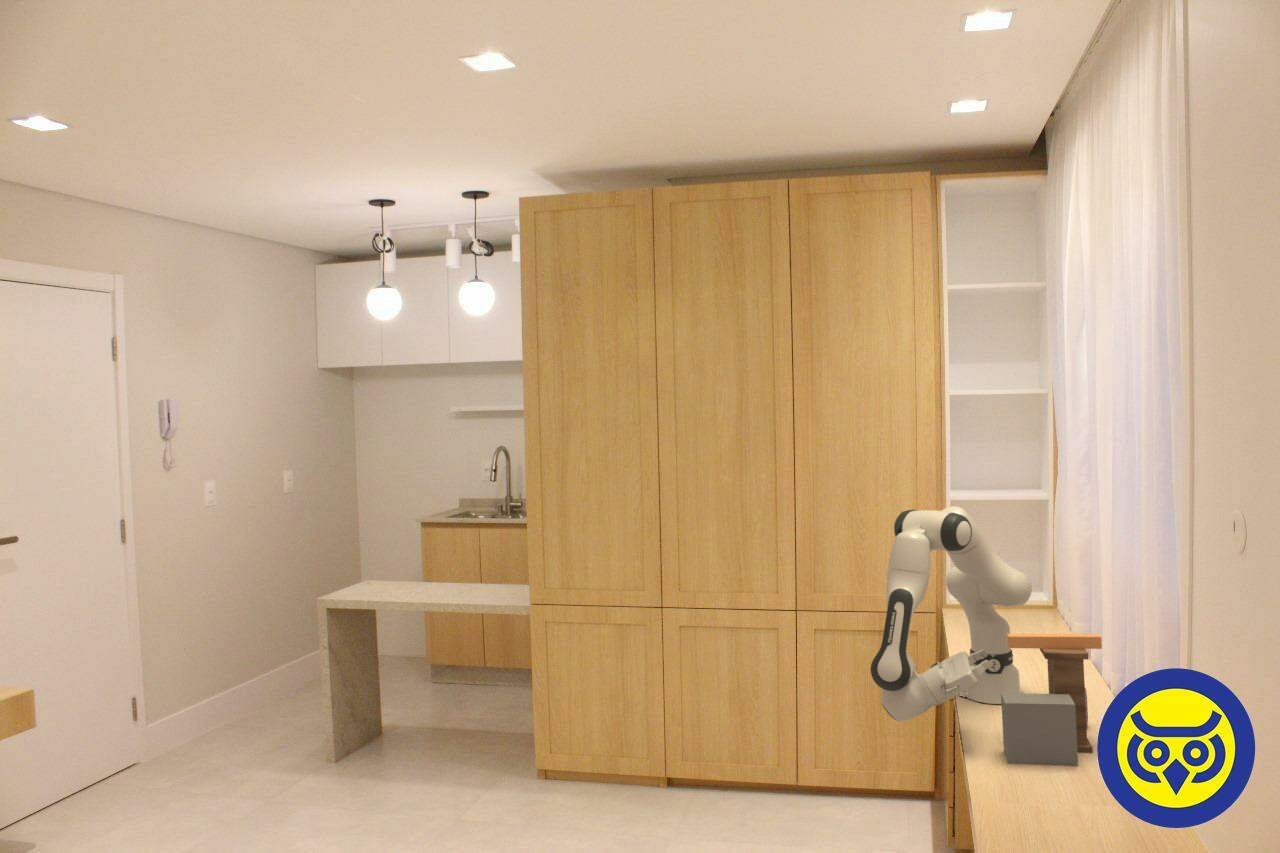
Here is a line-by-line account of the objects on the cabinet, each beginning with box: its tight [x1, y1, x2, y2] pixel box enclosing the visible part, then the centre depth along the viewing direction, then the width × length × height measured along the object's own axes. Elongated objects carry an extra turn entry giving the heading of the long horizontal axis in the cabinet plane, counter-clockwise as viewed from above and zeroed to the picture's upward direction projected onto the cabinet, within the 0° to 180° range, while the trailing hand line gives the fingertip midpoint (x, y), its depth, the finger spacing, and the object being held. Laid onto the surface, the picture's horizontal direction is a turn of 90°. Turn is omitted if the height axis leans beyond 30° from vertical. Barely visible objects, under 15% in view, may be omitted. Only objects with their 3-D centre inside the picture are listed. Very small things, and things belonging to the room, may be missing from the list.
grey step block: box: [1001, 692, 1079, 767], centre depth 240 cm, size 8×16×15 cm, turn 76°
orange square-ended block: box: [1007, 633, 1103, 650], centre depth 248 cm, size 3×22×3 cm, turn 76°
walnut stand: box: [1038, 648, 1094, 754], centre depth 248 cm, size 12×10×25 cm
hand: (987, 657), depth 252 cm, fingers open, 8 cm apart
